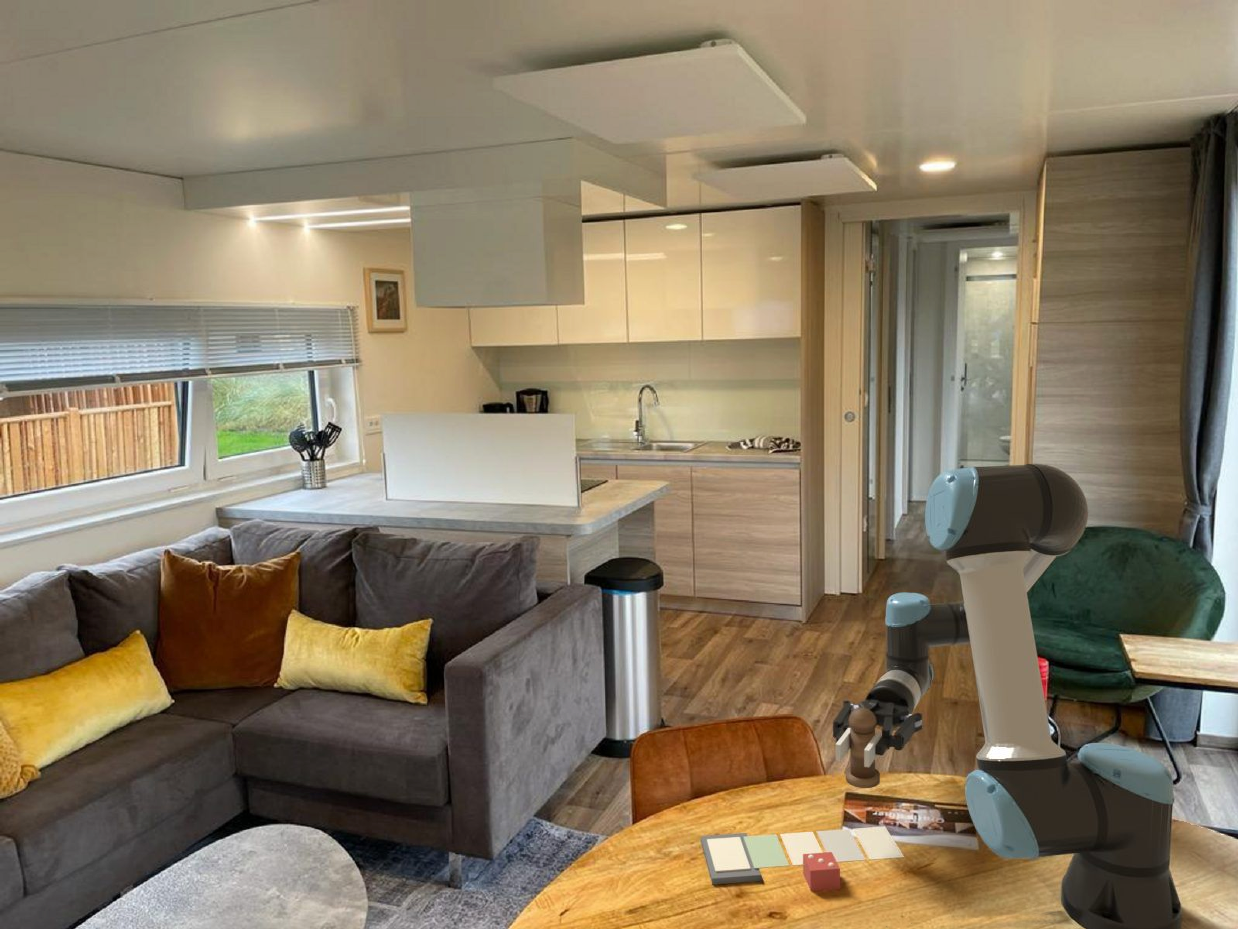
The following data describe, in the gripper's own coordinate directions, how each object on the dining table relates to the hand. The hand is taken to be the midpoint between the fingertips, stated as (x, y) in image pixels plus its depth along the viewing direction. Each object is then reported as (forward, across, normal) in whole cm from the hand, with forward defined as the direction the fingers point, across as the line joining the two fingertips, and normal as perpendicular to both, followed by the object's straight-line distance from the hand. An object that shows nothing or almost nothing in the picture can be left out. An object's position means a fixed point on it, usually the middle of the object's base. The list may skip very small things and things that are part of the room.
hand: (852, 755), depth 146 cm
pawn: (-5, 0, -6) cm, 8 cm away
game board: (+1, +8, -18) cm, 20 cm away
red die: (+8, +2, -18) cm, 20 cm away
